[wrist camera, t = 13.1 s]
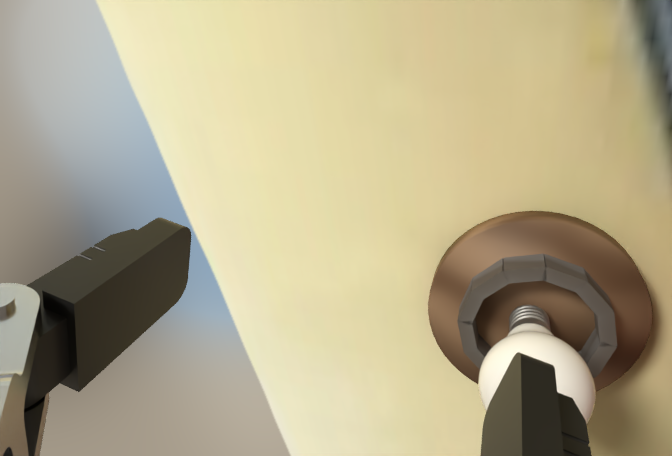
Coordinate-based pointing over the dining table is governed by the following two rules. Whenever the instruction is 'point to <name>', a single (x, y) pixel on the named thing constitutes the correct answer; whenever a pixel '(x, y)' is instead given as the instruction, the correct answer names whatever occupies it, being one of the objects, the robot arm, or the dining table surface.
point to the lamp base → (541, 291)
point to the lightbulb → (538, 342)
